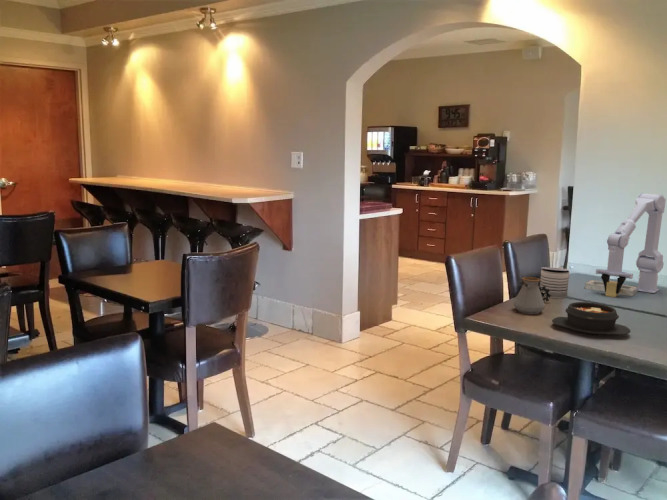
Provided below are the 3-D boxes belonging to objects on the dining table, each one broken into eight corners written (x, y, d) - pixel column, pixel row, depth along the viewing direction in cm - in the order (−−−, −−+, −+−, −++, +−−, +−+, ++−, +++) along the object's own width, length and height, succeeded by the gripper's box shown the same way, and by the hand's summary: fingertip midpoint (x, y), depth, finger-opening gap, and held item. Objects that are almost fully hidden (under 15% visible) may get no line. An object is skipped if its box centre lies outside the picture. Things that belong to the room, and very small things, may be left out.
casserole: (548, 332, 205) (550, 308, 204) (554, 318, 222) (557, 296, 220) (629, 344, 194) (632, 319, 193) (630, 329, 211) (632, 306, 210)
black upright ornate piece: (533, 308, 237) (550, 303, 244) (535, 291, 235) (552, 287, 243) (519, 304, 242) (536, 300, 249) (520, 288, 241) (537, 284, 248)
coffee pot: (517, 306, 238) (520, 268, 236) (547, 310, 233) (550, 272, 230) (502, 318, 220) (505, 278, 218) (534, 323, 215) (538, 282, 212)
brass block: (608, 294, 263) (609, 280, 262) (617, 295, 261) (619, 282, 260) (605, 295, 260) (606, 282, 259) (615, 297, 258) (616, 283, 257)
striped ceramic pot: (535, 295, 257) (537, 267, 255) (543, 290, 266) (545, 264, 264) (563, 299, 251) (565, 271, 249) (570, 294, 260) (572, 267, 258)
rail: (590, 285, 280) (591, 280, 279) (637, 292, 267) (638, 287, 267) (584, 288, 273) (585, 283, 272) (632, 296, 260) (633, 290, 260)
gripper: (594, 260, 259) (591, 291, 262) (631, 265, 250) (627, 297, 253) (599, 258, 265) (596, 288, 267) (635, 263, 256) (631, 294, 258)
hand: (612, 292), depth 260 cm, fingers closed on brass block, 4 cm apart
